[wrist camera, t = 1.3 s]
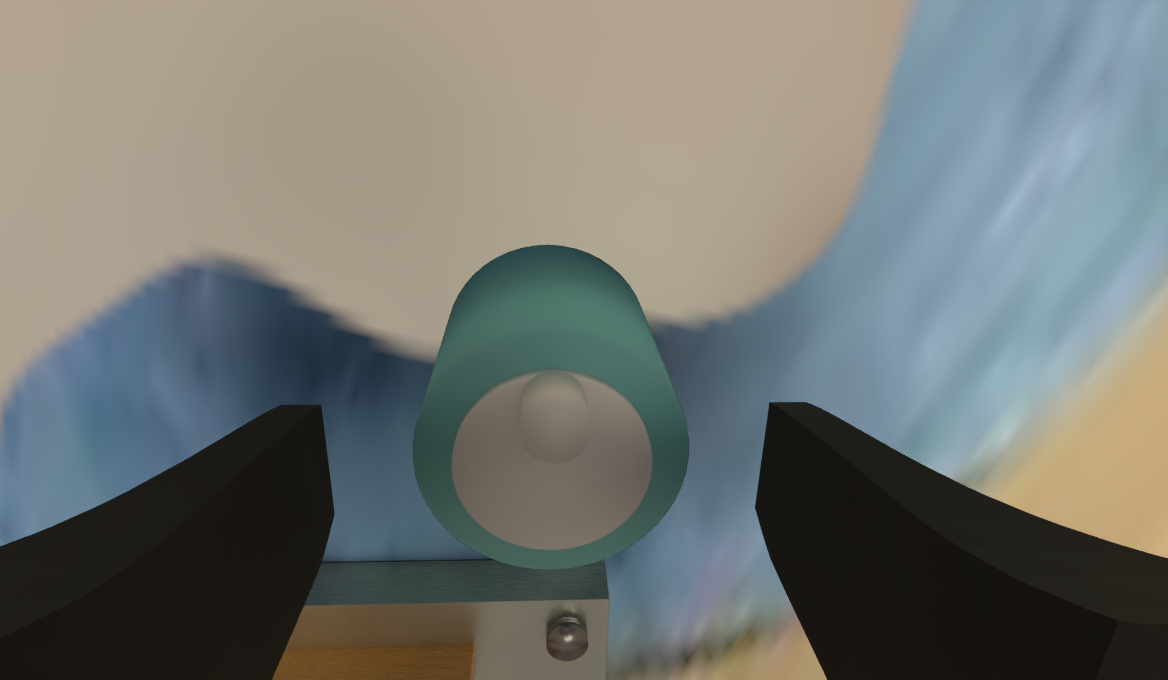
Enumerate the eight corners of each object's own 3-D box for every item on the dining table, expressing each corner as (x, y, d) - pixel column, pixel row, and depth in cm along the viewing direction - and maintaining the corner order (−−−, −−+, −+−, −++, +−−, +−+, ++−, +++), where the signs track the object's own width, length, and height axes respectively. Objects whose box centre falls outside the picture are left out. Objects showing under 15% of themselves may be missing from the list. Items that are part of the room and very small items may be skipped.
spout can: (640, 428, 18) (693, 620, 12) (451, 429, 17) (408, 627, 11) (652, 245, 16) (720, 364, 10) (442, 243, 16) (387, 364, 10)
